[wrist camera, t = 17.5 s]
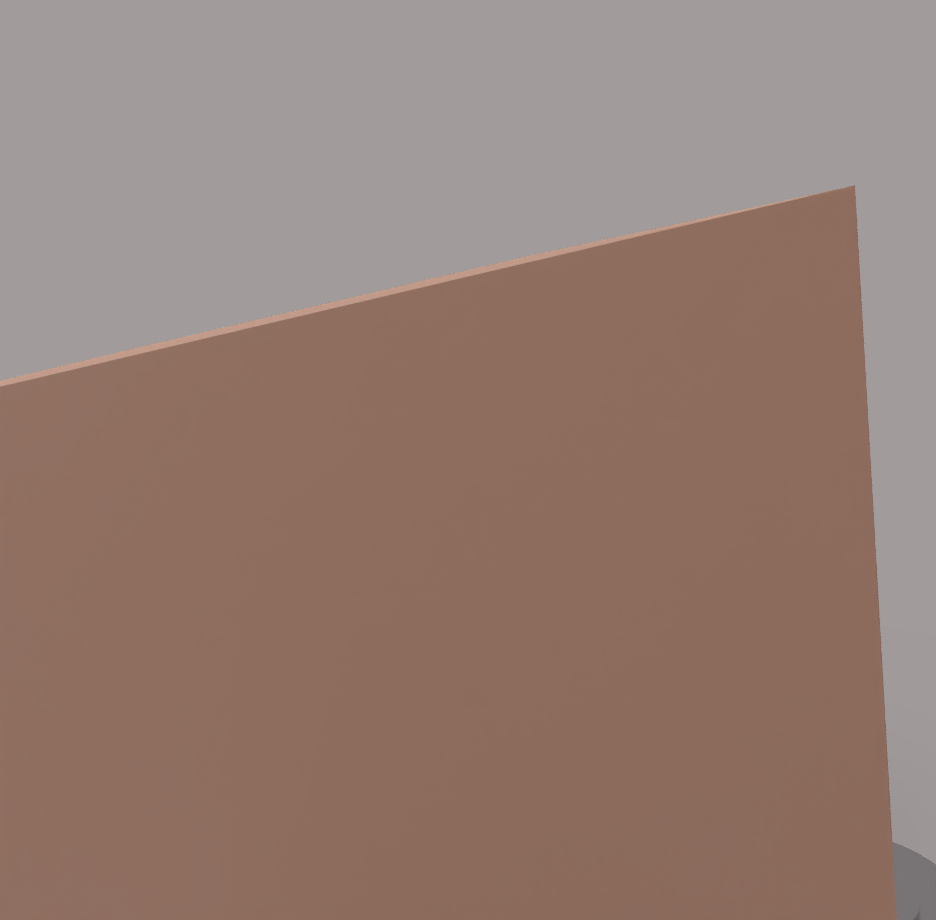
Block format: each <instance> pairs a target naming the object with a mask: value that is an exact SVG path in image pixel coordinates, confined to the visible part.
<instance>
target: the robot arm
mask: <svg viewBox="0 0 936 920" xmlns="http://www.w3.org/2000/svg"><path fill="white" fill-rule="evenodd" d="M892 846H893V863H894V881H895V898H896V916H897V920H936V865H935V864H934V863H933V862H931V861H930V860H928V859H926V858H925V857H923V856H921V855H920V854H918V853H916V852H914V851H912V850H910V849H908V848H906V847H903V846H901V845H899V844H896V843H893V842H892Z"/></svg>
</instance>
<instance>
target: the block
mask: <svg viewBox="0 0 936 920" xmlns="http://www.w3.org/2000/svg"><path fill="white" fill-rule="evenodd" d="M868 427H869V425H868V408H867V391H866V373H865V355H864V338H863V321H862V302H861V286H860V268H859V250H858V232H857V216H856V197H855V186H850V187H845V188H841V189H837V190H832V191H827V192H822V193H818V194H813V195H808V196H804V197H799V198H794V199H790V200H785V201H781V202H776V203H771V204H767V205H762V206H758V207H753V208H748V209H744V210H739V211H735V212H730V213H725V214H721V215H716V216H711V217H706V218H702V219H697V220H693V221H689V222H683V223H679V224H674V225H669V226H665V227H660V228H655V229H651V230H646V231H642V232H637V233H632V234H628V235H623V236H618V237H614V238H610V239H605V240H600V241H595V242H591V243H586V244H582V245H577V246H572V247H567V248H563V249H558V250H554V251H549V252H544V253H540V254H535V255H531V256H526V257H522V258H518V259H513V260H509V261H505V262H500V263H496V264H492V265H488V266H484V267H479V268H475V269H470V270H466V271H462V272H458V273H453V274H450V275H445V276H441V277H436V278H432V279H428V280H424V281H420V282H415V283H411V284H407V285H402V286H398V287H394V288H390V289H386V290H381V291H377V292H373V293H369V294H364V295H360V296H356V297H352V298H348V299H343V300H339V301H335V302H330V303H326V304H322V305H318V306H313V307H309V308H305V309H300V310H296V311H292V312H288V313H284V314H279V315H275V316H271V317H267V318H262V319H258V320H254V321H249V322H245V323H241V324H237V325H232V326H228V327H225V328H220V329H215V330H211V331H207V332H203V333H199V334H194V335H190V336H186V337H181V338H177V339H173V340H169V341H165V342H160V343H156V344H152V345H148V346H143V347H139V348H135V349H130V350H126V351H122V352H118V353H113V354H110V355H105V356H101V357H97V358H93V359H88V360H85V361H80V362H76V363H72V364H68V365H64V366H60V367H55V368H52V369H47V370H43V371H39V372H35V373H31V374H27V375H22V376H18V377H14V378H11V379H6V380H2V381H0V920H897V916H896V898H895V881H894V863H893V846H892V828H891V811H890V795H889V776H888V759H887V741H886V723H885V705H884V688H883V672H882V653H881V636H880V619H879V601H878V583H877V565H876V548H875V530H874V513H873V495H872V478H871V460H870V443H869V428H868Z"/></svg>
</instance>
